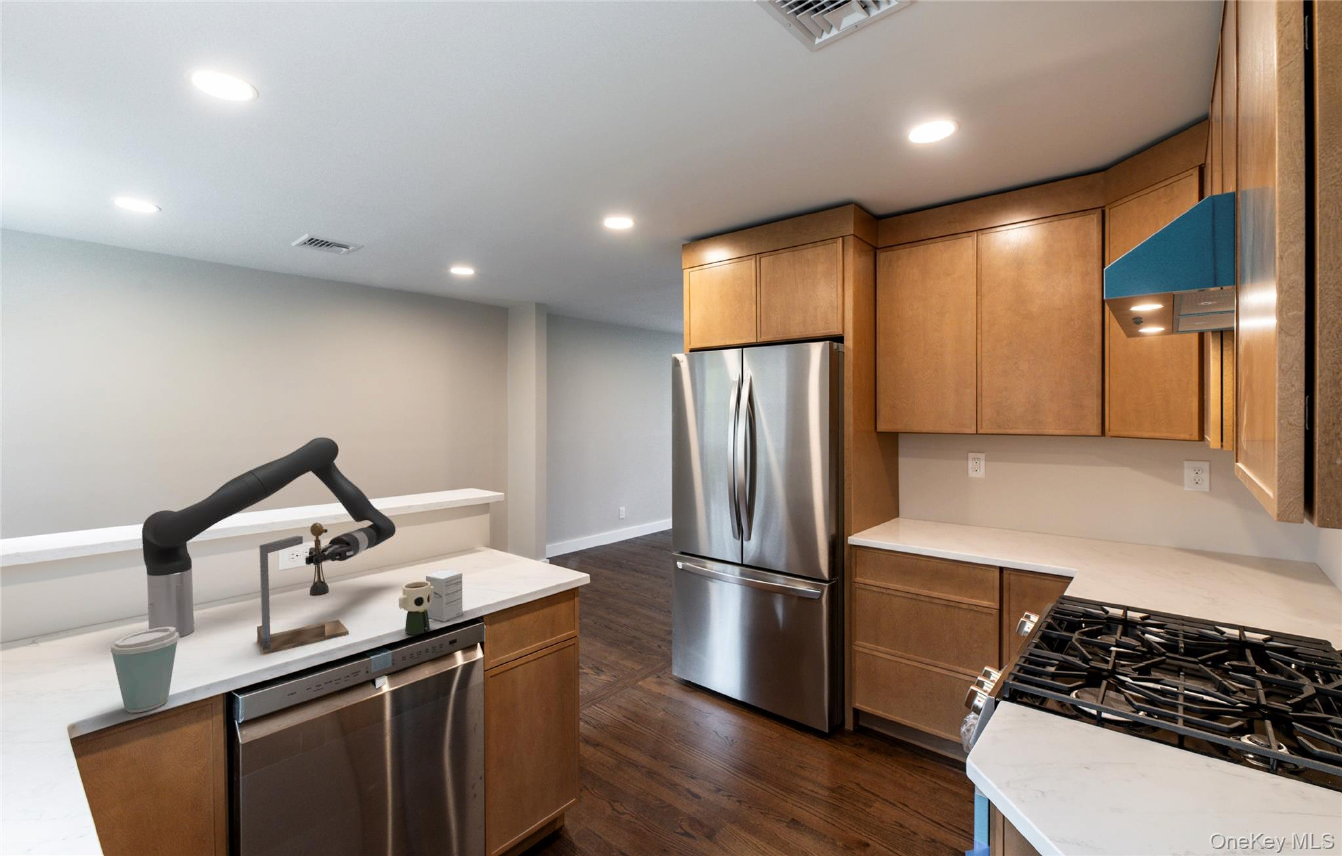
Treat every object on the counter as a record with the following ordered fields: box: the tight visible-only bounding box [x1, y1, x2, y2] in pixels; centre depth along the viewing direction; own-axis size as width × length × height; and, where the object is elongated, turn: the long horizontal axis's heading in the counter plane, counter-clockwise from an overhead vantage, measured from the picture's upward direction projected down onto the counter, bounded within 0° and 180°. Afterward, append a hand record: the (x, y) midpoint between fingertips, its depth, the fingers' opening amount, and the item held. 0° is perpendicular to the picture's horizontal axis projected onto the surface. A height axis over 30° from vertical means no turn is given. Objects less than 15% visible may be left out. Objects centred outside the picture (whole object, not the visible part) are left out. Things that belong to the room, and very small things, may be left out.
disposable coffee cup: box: [110, 627, 181, 714], centre depth 122 cm, size 11×11×15 cm
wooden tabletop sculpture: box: [309, 522, 330, 597], centre depth 165 cm, size 6×5×20 cm
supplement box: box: [425, 569, 463, 623], centre depth 173 cm, size 7×7×13 cm
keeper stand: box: [256, 535, 350, 655], centre depth 156 cm, size 19×11×27 cm, turn 132°
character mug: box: [398, 580, 434, 635], centre depth 161 cm, size 11×7×13 cm, turn 152°
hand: (310, 561), depth 162 cm, fingers closed on wooden tabletop sculpture, 1 cm apart
